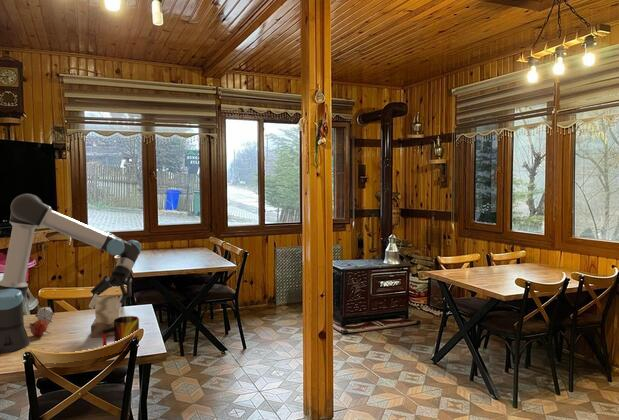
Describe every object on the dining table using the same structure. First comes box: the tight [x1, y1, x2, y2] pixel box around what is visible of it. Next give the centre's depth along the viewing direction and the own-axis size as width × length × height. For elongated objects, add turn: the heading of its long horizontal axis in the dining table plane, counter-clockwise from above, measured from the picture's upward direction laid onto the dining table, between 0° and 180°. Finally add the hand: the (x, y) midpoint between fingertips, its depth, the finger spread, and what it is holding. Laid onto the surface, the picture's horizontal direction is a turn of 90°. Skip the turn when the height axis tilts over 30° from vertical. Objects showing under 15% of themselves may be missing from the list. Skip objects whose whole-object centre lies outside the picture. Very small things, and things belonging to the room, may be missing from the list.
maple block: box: [94, 294, 120, 324], centre depth 211 cm, size 7×7×11 cm
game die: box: [34, 305, 55, 323], centre depth 228 cm, size 9×8×10 cm
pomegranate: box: [29, 319, 51, 338], centre depth 209 cm, size 7×7×10 cm
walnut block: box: [90, 316, 124, 340], centre depth 211 cm, size 12×12×6 cm
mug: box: [102, 315, 140, 347], centre depth 191 cm, size 10×14×12 cm
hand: (103, 308), depth 209 cm, fingers open, 13 cm apart
